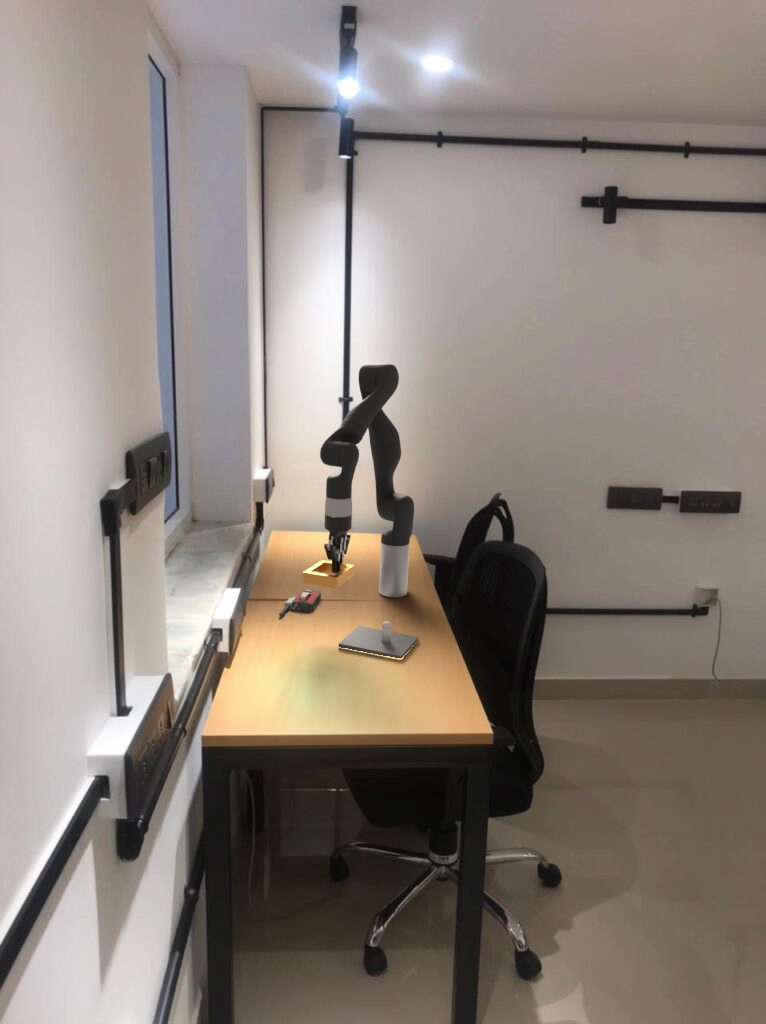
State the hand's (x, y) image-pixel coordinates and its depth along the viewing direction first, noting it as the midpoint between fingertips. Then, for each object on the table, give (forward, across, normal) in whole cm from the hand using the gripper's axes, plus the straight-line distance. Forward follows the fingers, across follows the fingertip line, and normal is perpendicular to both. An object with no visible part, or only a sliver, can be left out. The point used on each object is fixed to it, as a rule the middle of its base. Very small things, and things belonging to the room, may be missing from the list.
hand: (336, 571), depth 217 cm
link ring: (+1, +5, 0) cm, 5 cm away
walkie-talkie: (+18, -9, -16) cm, 25 cm away
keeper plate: (+17, +6, +16) cm, 24 cm away
